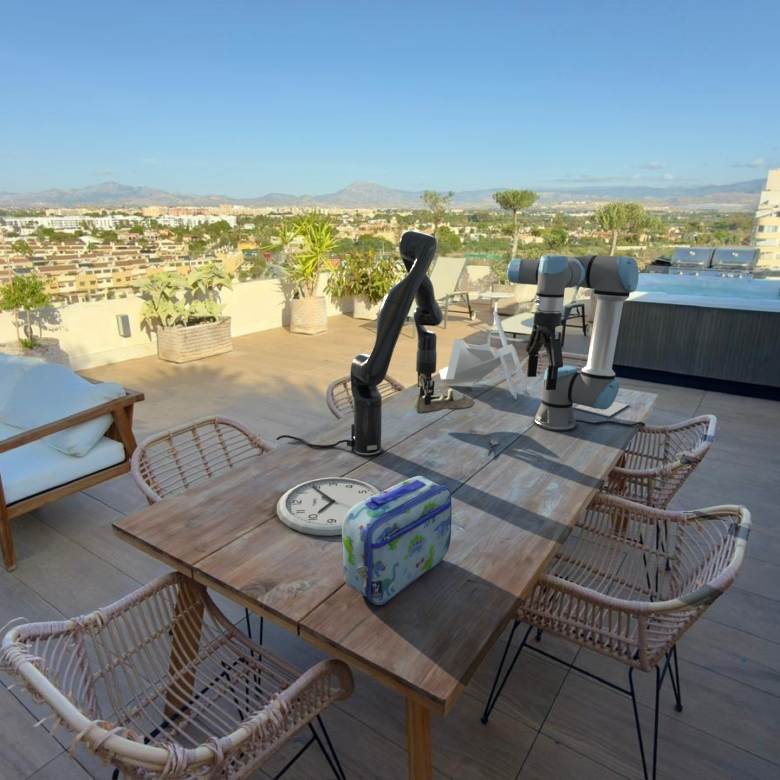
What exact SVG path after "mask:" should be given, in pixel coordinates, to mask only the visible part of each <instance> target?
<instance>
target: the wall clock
mask: <svg viewBox="0 0 780 780" xmlns="http://www.w3.org/2000/svg"><path fill="white" fill-rule="evenodd" d="M380 492H382V491H381V490H380V489H379V488H377V487H376V486H374V485H372V484H371V483H369V482H365V481H362V480H359V479H355V478H349V477H338V476H337V477H335V476H333V477H332V476H331V477H322V478H317V479H312V480H307V481H305V482H302V483H299V484H297V485H295V486H293V487H292V488H290V489H288V490H287V491H286V492H285V493H284V494H283V495H281V496H280V498H279V499H278V502H277V503H276V515H277V517H278V518H279V520H280V521H281V522H282V523H283V524H285V525H286V526H287V527H288V528H290V529H293V530H295V531H297V532H299V533H303V534H308V535H312V536H327V537H328V536H329V537H331V536H332V537H333V536H342V525H343V521H344V518H345V516H346V514H347V512H348V511H349V510H350V509H351V508H352V507H353V506H354V505H356V504H358V503H360V502H362V501H364V500H366V499H368V498H370V497H372V496H374V495H376V494H378V493H380Z"/></svg>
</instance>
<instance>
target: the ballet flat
mask: <svg viewBox="0 0 780 780" xmlns="http://www.w3.org/2000/svg"><path fill="white" fill-rule="evenodd" d="M439 392H440V396H435V395H436V394H438V393H439ZM475 404H476V402H475V401H474V400H472V399H471V398H469V397H467V396H465V395H464V394H462V393H461V392H459V391H458V390H455V389H454V388H451V387H449V388H448V389H447V395H444V393H443V391H442V390H441V389H437V390H434V394H433V395H431V404H430V405H425V395H424V396H421V395H420V394H418V395H417V396H416V398H415V401H414V405H413V409H414V410H415V412H416V413H417V414H420V415H422V414H429V413H434V412H435V413H436V412H439V411H442V410H451V411H457V410H458V411H459V410H467V409H470V408H473V407H474V406H475Z"/></svg>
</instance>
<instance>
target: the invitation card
mask: <svg viewBox="0 0 780 780" xmlns="http://www.w3.org/2000/svg"><path fill="white" fill-rule="evenodd" d="M628 406H629V404H627V403H623V402H618V401H614V402H613V404H612V405H611V406H610V407H609V408H608V409H605V410H602V409H597V408H596V409H594V408H592V407H588V406H584V405H579V404H577V405H575V406H574V407H573V409H575V410H581V411H584V412H587V413H593V414H596V415H600V416H604V417H608V418H609V417H611V416H613V415H614V414H616V413H617V412H619V411H621V410H623V409H624V408H626V407H628Z"/></svg>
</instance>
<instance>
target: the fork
mask: <svg viewBox="0 0 780 780" xmlns="http://www.w3.org/2000/svg"><path fill="white" fill-rule="evenodd" d="M499 440H500V436H492V437H491V440H490V445H491V446H490V447H489V449H488V452H487V453H488V454H487V456H490V455H491V453H492V452H493V450H494V446H495V445H498V444H499Z"/></svg>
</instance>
